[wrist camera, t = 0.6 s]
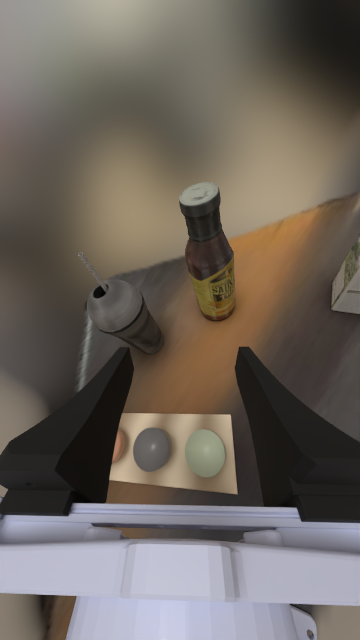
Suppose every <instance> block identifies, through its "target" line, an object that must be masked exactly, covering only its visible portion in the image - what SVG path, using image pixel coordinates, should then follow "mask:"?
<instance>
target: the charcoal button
mask: <svg viewBox="0 0 360 640" xmlns="http://www.w3.org/2000/svg"><path fill="white" fill-rule="evenodd" d="M171 451H172V444H171V440H170V437H169V435H168V434H167V433H166V432H165V431H164V430H163V429H160V428H146V429H144V430H143V431H141V432H140V433H139V435H138V436H137V438H136V440H135V442H134V446H133V456H134V460H135V462H136V464H137V466H138V467H139V468H140V469H141V470H143V471H146V472H153V471H155V470H158V469H160V468H162V467H163V466H164V465H165V464H166V463H167V462H168V460H169V458H170V456H171Z"/></svg>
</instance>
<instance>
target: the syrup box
mask: <svg viewBox="0 0 360 640" xmlns="http://www.w3.org/2000/svg"><path fill="white" fill-rule="evenodd" d="M331 310H334V311H341V312H348V313H356V314H360V234H359V236H358V238H357V239H356V241H355V243H354V245H353V247H352V248H351V250H350V252H349V253H348V255H347V257H346V259H345V260H344V262H343V264H342V266H341V268H340V269H339V271H338V273H337V275H336V277H335V278H334V280H333V282H332V300H331Z"/></svg>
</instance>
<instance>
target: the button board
mask: <svg viewBox="0 0 360 640" xmlns="http://www.w3.org/2000/svg"><path fill="white" fill-rule="evenodd" d="M146 428H160V429H163V430H164V431H165V432H166V433H167V434H168V435H169V437H170V440H171V444H172V451H171V456H170V458H169V460H168V462H167V463H166V464H165V465H164V466H163V467H162V468H160V469H158V470H155V471H153V472H146V471H143V470H141V469H140V468H139V467H138V466H137V464H136V462H135V460H134V456H133V446H134V442H135V440H136V438H137V436H138V435H139V433H140V432H141V431H143V430H144V429H146ZM119 429H120V430H121V431H122V432H123V435H124V438H125V446H124V450H123V453H122V455H121V457H120V458H119V459H118V461H117V462H115V463H114V464H112V465H111V471H110V478H109V480H115V481H124V482H133V483H142V484H150V485H159V486H168V487H177V488H186V489H194V490H203V491H212V492H221V493H229V494H237V493H238V490H237V479H236V467H235V456H234V444H233V433H232V421H231V415H212V414H144V413H122V415H121V419H120V423H119ZM201 429H206V430H211V431H213V432H215V433H216V434H218V435H219V437H220V438H221V439H222V441H223V443H224V446H225V450H226V458H225V462H224V465H223V467H222V468H221V470H220V471H219V472H218V473H217V474H216V475H214V476H212V477H201V476H199V475H197V474H195V473H194V472H193V471H192V470H191V469H190V467H189V465H188V463H187V461H186V457H185V446H186V442H187V440H188V438H189V437H190V435H191V434H192V433H194V432H195V431H197V430H201Z"/></svg>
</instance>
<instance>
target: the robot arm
mask: <svg viewBox="0 0 360 640" xmlns="http://www.w3.org/2000/svg"><path fill="white" fill-rule="evenodd" d="M133 371H134V367H133V362H132V358H131V354H130V350H129V347H120V348H119V349H118V350H117V351H116V352H115V353H114V355H113V356H112V357H111V358H110V359H109V361H108V362H107V363H106V364H105V365H104V366H103V368H102V369H101V370H100V371H99V372H98V373H97V374H96V375H95V376H94V377H93V378H92V379H91V381H90V382H89V383H88V384H87V385H86V386H85V387H83V388H82V389H81V390H80V391H79V392H78V393H77V394H76V395H75V396H74V397H73V398H71V399H70V400H69V401H68V402H66V403H65V404H64V405H63V406H61V407H60V408H59V409H58V410H56V411H55V412H54V413H52V414H51V415H49V416H48V417H47V418H45V419H44V420H42V421H41V422H40V423H38V424H37V425H35V426H34V427H32V428H30V429H29V430H27V431H26V432H24V433H23V434H21V435H19V436H18V437H16V438H14V439H13V440H11V441H10V442H9V443H8V445H7V446H6V448H5V449H4V450H3V452H2V454H1V455H0V485H2V486H4V487H5V488H7V489H8V491H7V493H6V495H5V497H0V593H20V594H44V595H69V596H77V598H76V602H75V606H74V610H73V614H72V618H71V621H70V625H69V629H68V633H67V637H66V640H317V629H316V624H315V621H314V619H313V618H312V616H311V615H310V614H308V613H306V612H304V611H302V610H300V609H298V608H296V607H294V606H291V605H290V604H320V605H352V606H360V442H358V441H357V440H355V439H353V438H352V437H350V436H349V435H347V434H345V433H344V432H342V431H341V430H339V429H338V428H336V427H335V426H333V425H332V424H330V423H329V422H327V421H326V420H325V419H323V418H322V417H320V416H319V415H318V414H316V413H315V412H314V411H312V410H311V409H310V408H309V407H307V406H306V405H305V404H303V403H302V402H301V401H300V400H299V399H297V398H296V397H295V396H294V395H293V394H292V393H291V392H289V391H288V390H287V389H286V388H285V387H284V386H283V385H282V384H281V383H280V382H279V381H278V380H277V379H276V378H275V377H274V376H273V375H272V373H271V372H270V371H269V370H268V369H267V368H266V367H265V366H264V365H263V363H262V362H261V361H260V360H259V359H258V357H257V356H256V355H255V354H254V352H253V351H252V350H251V349H250V348H249V347H239V350H238V355H237V360H236V365H235V372H236V378H237V383H238V387H239V390H240V393H241V396H242V400H243V403H244V406H245V409H246V413H247V416H248V420H249V423H250V428H251V433H252V438H253V443H254V448H255V453H256V459H257V465H258V470H259V476H260V483H261V489H262V496H263V503H264V507H241V506H193V505H145V504H104V503H105V502H106V499H107V491H108V485H109V478H110V471H111V465H112V459H113V454H114V448H115V443H116V438H117V433H118V428H119V423H120V419H121V415H122V412H123V409H124V406H125V402H126V399H127V396H128V393H129V389H130V386H131V382H132V377H133ZM102 527H124V528H165V529H205V530H246V531H254V532H245V533H244V534H243V539H241V540H239V541H238V542H226V541H214V540H198V539H130V538H128V537H126V536H123V535H122V532H121V530H116V529H109V528H102ZM308 629H309V630H311V631H312V632H313V634H312V636H309V635H308V634H307V630H308Z"/></svg>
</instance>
